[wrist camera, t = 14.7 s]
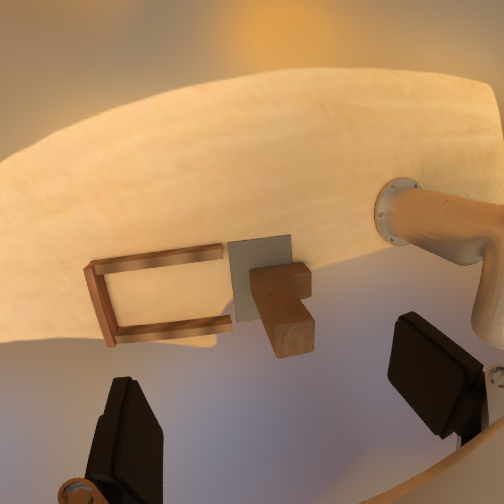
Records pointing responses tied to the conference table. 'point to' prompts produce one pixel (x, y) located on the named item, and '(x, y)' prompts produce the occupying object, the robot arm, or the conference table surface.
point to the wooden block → (284, 307)
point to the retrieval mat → (254, 257)
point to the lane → (150, 331)
